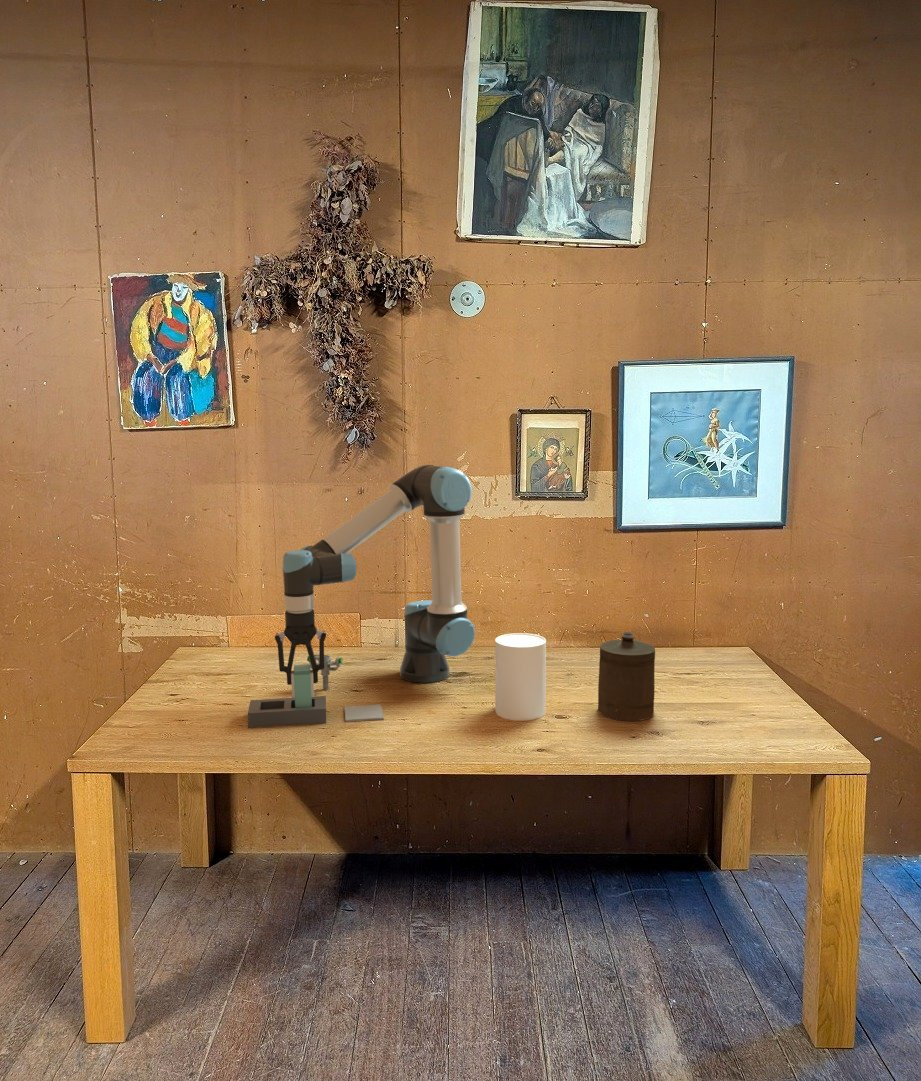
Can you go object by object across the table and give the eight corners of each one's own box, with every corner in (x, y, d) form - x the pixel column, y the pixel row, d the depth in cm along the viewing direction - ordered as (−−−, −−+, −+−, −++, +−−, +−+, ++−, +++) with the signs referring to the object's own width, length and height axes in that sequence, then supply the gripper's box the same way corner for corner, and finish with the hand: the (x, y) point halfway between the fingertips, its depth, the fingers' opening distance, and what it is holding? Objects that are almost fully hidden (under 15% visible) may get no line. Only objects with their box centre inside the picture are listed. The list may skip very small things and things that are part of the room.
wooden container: (640, 700, 247) (642, 624, 243) (663, 719, 233) (665, 638, 229) (589, 704, 244) (591, 627, 240) (610, 724, 230) (612, 642, 226)
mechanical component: (340, 692, 255) (339, 658, 253) (307, 689, 257) (306, 656, 255) (344, 688, 258) (343, 655, 256) (311, 686, 260) (309, 653, 258)
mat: (381, 706, 243) (381, 704, 243) (383, 719, 233) (383, 717, 233) (344, 708, 242) (344, 706, 242) (345, 722, 232) (345, 719, 232)
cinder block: (326, 709, 241) (325, 695, 240) (326, 723, 231) (325, 708, 231) (251, 714, 238) (250, 700, 237) (248, 728, 228) (247, 713, 228)
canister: (555, 711, 239) (556, 639, 236) (522, 724, 230) (522, 650, 226) (518, 699, 248) (518, 630, 245) (485, 711, 239) (484, 640, 236)
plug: (312, 710, 237) (310, 663, 235) (311, 716, 233) (310, 668, 231) (296, 711, 237) (294, 664, 235) (295, 717, 233) (293, 669, 230)
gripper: (332, 604, 235) (335, 688, 239) (266, 607, 233) (270, 692, 237) (333, 611, 228) (336, 698, 232) (264, 615, 225) (269, 702, 229)
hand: (303, 695), depth 234 cm, fingers closed on plug, 4 cm apart
